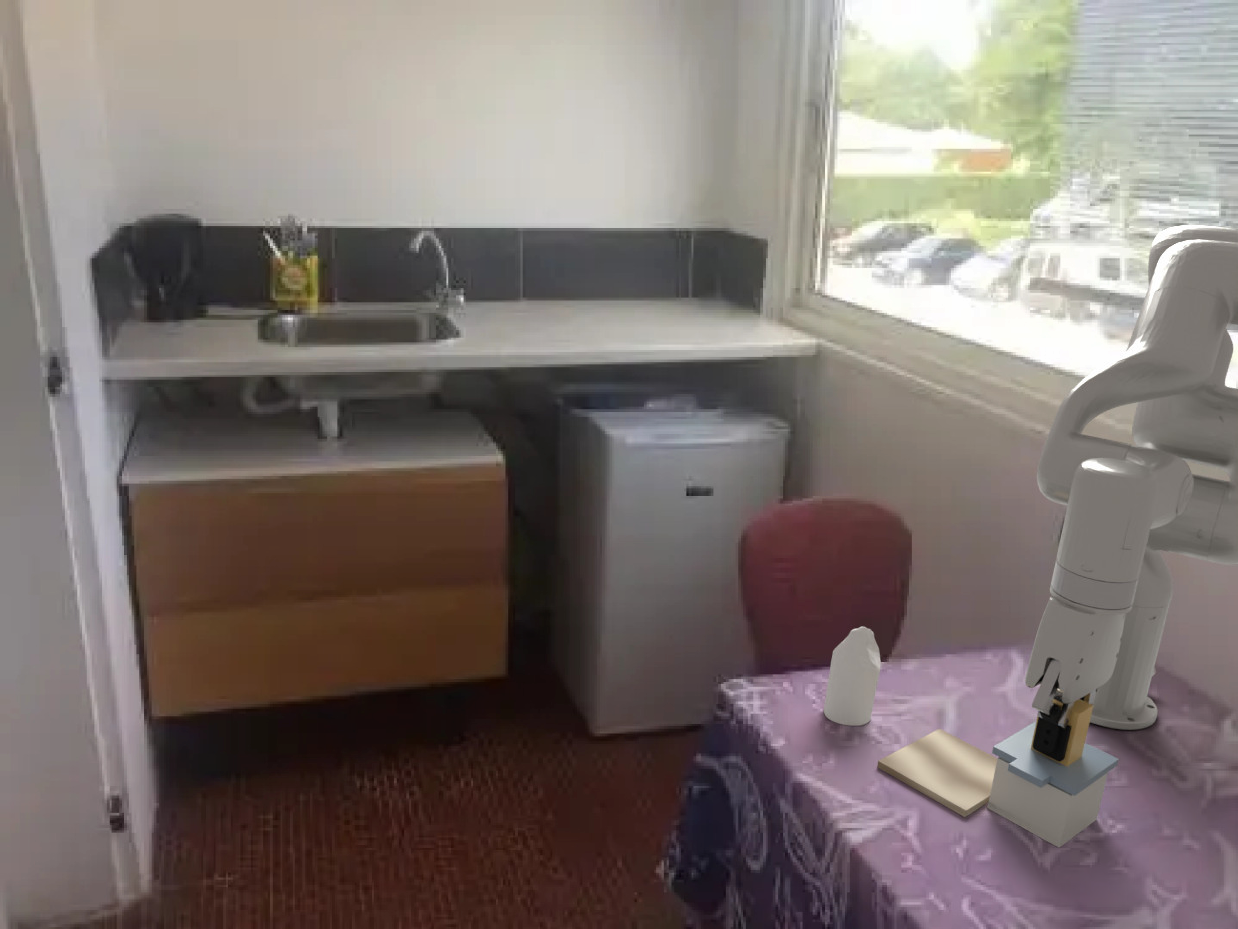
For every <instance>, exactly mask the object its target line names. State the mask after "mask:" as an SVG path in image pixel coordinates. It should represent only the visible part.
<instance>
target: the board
mask: <svg viewBox="0 0 1238 929" xmlns="http://www.w3.org/2000/svg"><path fill="white" fill-rule="evenodd" d="M998 758H999V757H997V756H993V755H992V754H990V753H987V752H986V751H984V750H982V749H980V748H979V747H976V746H974V745H972V744H970V743H968V742H966V741H964V740H962V739H960V738H959V737H957V736H955V735H953V734H951V733H950V732H947V731H945V730H943V729H942V728H938V729H936V730H934V731H932V732H931V733H929V734H927V735H924V736H923V737H920V738H919V739H917V740H915V741H914V742H911V743H909V744H908V745H905V746H904V747H902V748H900V749H898V750H896V751H894V752H892V753H890V754H888V755H886V756H884V757H883V758H881V759H879V760H878V761H877V765H876V767H877V768H878V769H880V770H881V771H883V772H885V773H887V774H888V775H890V776H892V777H893V778H896V779H897V780H899V781H901V782H902V783H904V784H906V785H907V786H910V787H911V788H912V789H915V790H916V791H918V792H920V793H922V794H923V795H926V796H927V797H929V798H931V799H932V800H934V801H936V802H937V803H939V804H941V805H943V806H944V807H946V808H948V809H949V810H951V811H953V812H955V813H956V814H958V815H961V816H962V817H963V818H966V817H967V816H969V815H971V814H973V813H974V812H975V811H977V810H978V809H980V808H982V807H983V806H985V805H986V804H988V802H989V797H990V792H991V788H992V783H993V778H994V773H995V768H996V763H997V759H998Z"/></svg>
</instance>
